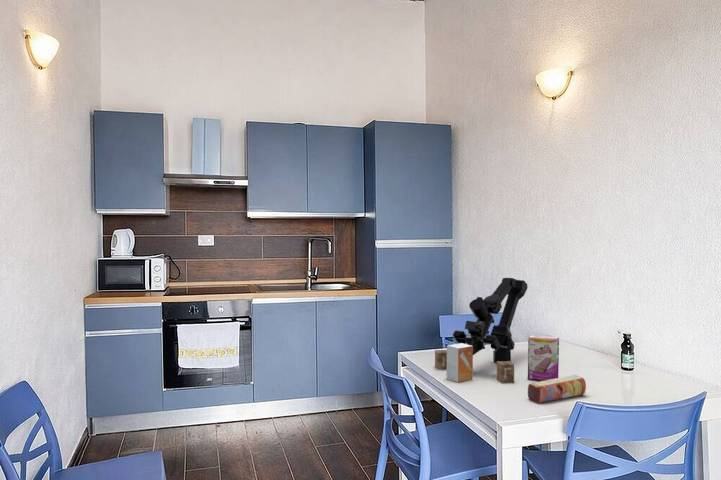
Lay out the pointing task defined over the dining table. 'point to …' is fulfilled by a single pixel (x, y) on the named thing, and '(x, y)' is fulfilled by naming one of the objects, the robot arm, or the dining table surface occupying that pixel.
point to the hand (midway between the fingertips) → (468, 357)
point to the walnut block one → (441, 359)
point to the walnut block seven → (505, 372)
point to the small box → (459, 362)
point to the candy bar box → (543, 358)
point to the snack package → (556, 388)
